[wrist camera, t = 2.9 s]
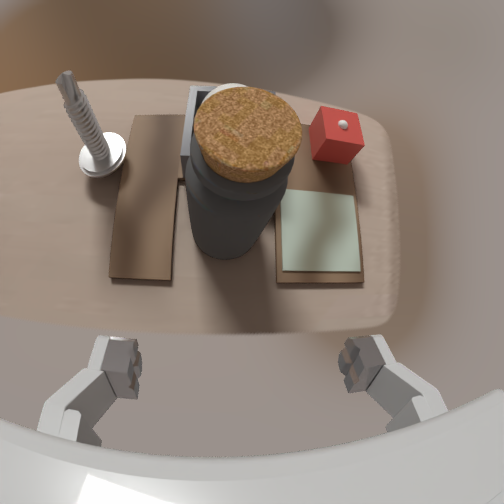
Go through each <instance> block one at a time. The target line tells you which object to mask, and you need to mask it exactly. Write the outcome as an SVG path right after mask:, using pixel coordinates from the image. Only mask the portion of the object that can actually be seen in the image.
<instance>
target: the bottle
mask: <svg viewBox="0 0 504 504" xmlns="http://www.w3.org/2000/svg"><path fill="white" fill-rule="evenodd" d="M193 126H194V133H193V136H192V139H191V143H190V156H189V159H188V161H187V164H186V172H185V180H186V191H187V200H188V208H189V215H190V222H191V229H192V233H193V237H194V239H195V242H196V243H197V245H198V246H199V248H200V249H201V250H202V251H203V252H205V253H206V254H208V255H209V256H211V257H214V258H217V259H225V260H227V259H233V258H237V257H239V256H241V255H243V254H244V253H246V252H247V251H248V250H249V249H250V248H251V247H252V245H253V244H254V243H255V241H256V240H257V238H258V237H259V235H260V234H261V232H262V231H263V229H264V228H265V226H266V224H267V223H268V221H269V220H270V218H271V216H272V215H273V213H274V212H275V210H276V209H277V207H278V205H279V204H280V202H281V200H282V198H283V196H284V194H285V191H286V188H287V183H288V176H289V174H290V172H291V170H292V167H293V164H294V159H295V154H296V153H297V152H298V150H299V148H300V145H301V141H302V127H301V123H300V121H299V118H298V116H297V115H296V113H295V111H294V110H293V109H292V108H291V107H290V106H289V104H288V103H286V102H285V101H284V100H283V99H281V98H280V97H278V96H276V95H274V94H273V93H271V92H268V91H266V90H262V89H259V88H253V87H233V88H228V89H224V90H221V91H219V92H217V93H215V94H213V95H211V96H210V97H209V98H207V99H206V100H205V101H204V102H203V103H202V104H201V106H200V107H199V109H198V110H197V113H196V115H195V118H194V125H193Z"/></svg>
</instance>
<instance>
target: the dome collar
mask: <svg viewBox="0 0 504 504" xmlns="http://www.w3.org/2000/svg"><path fill="white" fill-rule="evenodd" d="M215 88H217V87H215V86H190V92H189V98H188V104H187V110H186V117H185V124H184V131H183V138H182V146H181V153H180V157H181V166H182V174H183V178H185V172H186V164H187V161H188V159H189V156H190V143H191V139H192V136H193V133H194V126H193V125H194V118H195V115H196V113H197V110H198V109H199V107H200V106H201V104H202V102H203V100H204V99H205V97H206V96H207V95H208V94H209V93H210V92H211V91H212V90H213V89H215ZM268 92H271V93H273V94H274V95H275V92H273V91H268Z"/></svg>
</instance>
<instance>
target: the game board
mask: <svg viewBox="0 0 504 504" xmlns="http://www.w3.org/2000/svg"><path fill="white" fill-rule="evenodd" d="M185 117H186V115H135V116H134V120H133V124H132V128H131V132H130V137H129V141H128V145H127V150H126V156H125V159H124V164H123V169H122V175H121V180H120V186H119V192H118V198H117V204H116V211H115V218H114V226H113V234H112V243H111V253H110V264H109V277H110V278H123V279H144V280H169V281H171V268H172V248H173V232H174V219H175V207H176V195H177V185H178V180H185V178H183V174H182V166H181V157H180V153H181V146H182V138H183V131H184V124H185ZM301 127H302V141H301V145H300V148H299V150H298V152H297V153H296V154H295V159H294V164H293V167H292V170H291V172H290V174H289V176H288V183H287V188H286V191H285V194H284V196H283V198H282V200H281V202H280V204H279V205H278V207H277V209H276V210H275V212H274V215H275V256H276V283H363V282H364V270H363V256H362V244H361V234H360V224H359V215H358V207H357V199H356V192H355V185H354V178H353V171H352V165H351V161H350V162H349V163H348V164H340V163H333V162H326V161H319V160H312V153H311V144H310V136H309V127H310V125H305V124H301Z"/></svg>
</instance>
